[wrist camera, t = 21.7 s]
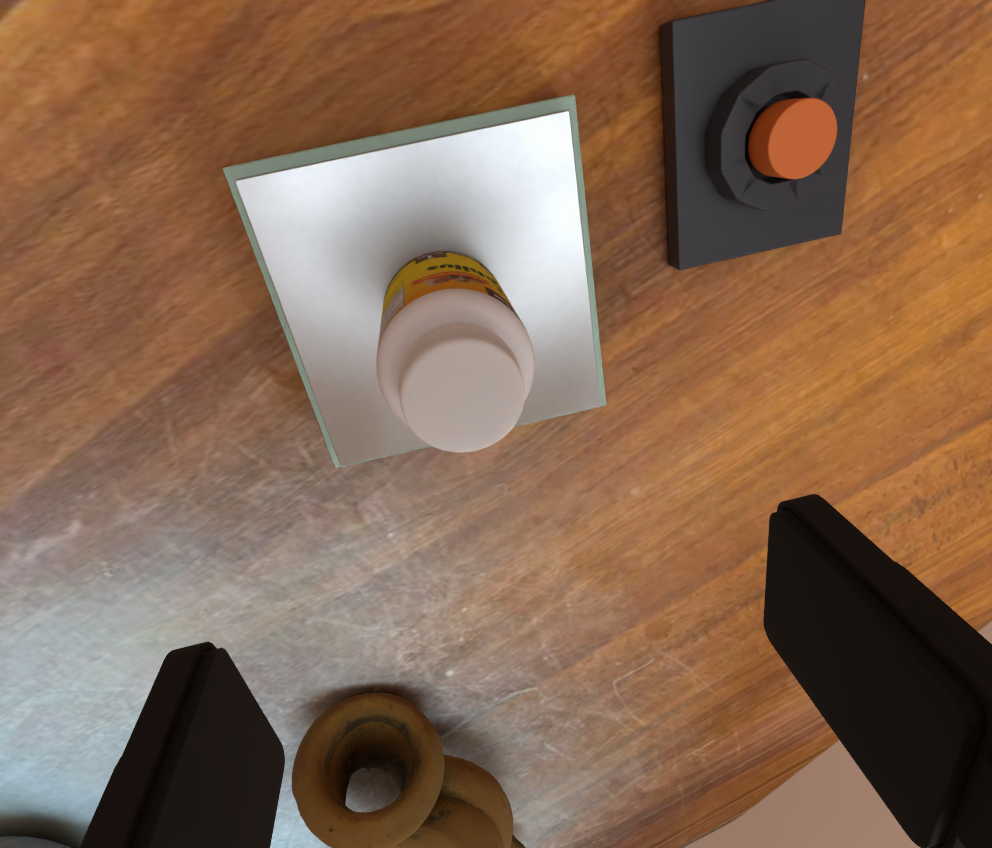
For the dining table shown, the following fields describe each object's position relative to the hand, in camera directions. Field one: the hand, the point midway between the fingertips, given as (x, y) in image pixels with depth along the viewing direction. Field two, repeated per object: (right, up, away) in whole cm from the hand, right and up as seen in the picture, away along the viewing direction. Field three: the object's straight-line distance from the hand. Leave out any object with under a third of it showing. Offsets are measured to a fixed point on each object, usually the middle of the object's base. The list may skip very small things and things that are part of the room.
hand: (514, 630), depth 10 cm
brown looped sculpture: (-6, -26, +39) cm, 47 cm away
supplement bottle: (-3, +9, +17) cm, 20 cm away
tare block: (+12, +18, +19) cm, 29 cm away
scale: (-3, +11, +20) cm, 23 cm away
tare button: (+13, +17, +17) cm, 27 cm away
